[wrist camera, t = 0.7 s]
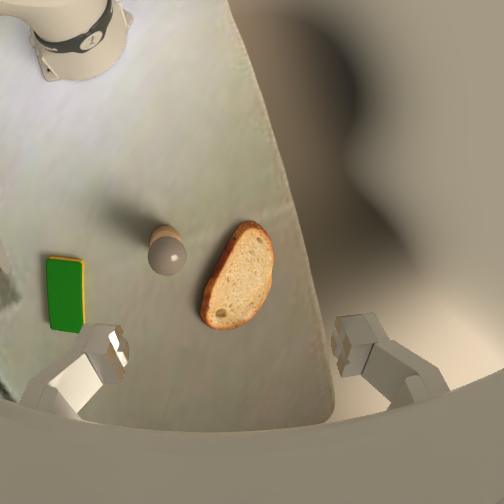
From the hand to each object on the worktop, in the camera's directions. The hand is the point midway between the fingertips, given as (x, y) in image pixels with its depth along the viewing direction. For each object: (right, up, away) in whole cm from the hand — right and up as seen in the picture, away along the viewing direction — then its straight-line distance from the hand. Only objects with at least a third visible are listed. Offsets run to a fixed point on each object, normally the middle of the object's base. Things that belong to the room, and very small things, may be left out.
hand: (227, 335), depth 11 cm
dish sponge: (-33, -4, +37) cm, 50 cm away
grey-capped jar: (-14, +5, +39) cm, 42 cm away
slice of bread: (-2, -2, +46) cm, 46 cm away
